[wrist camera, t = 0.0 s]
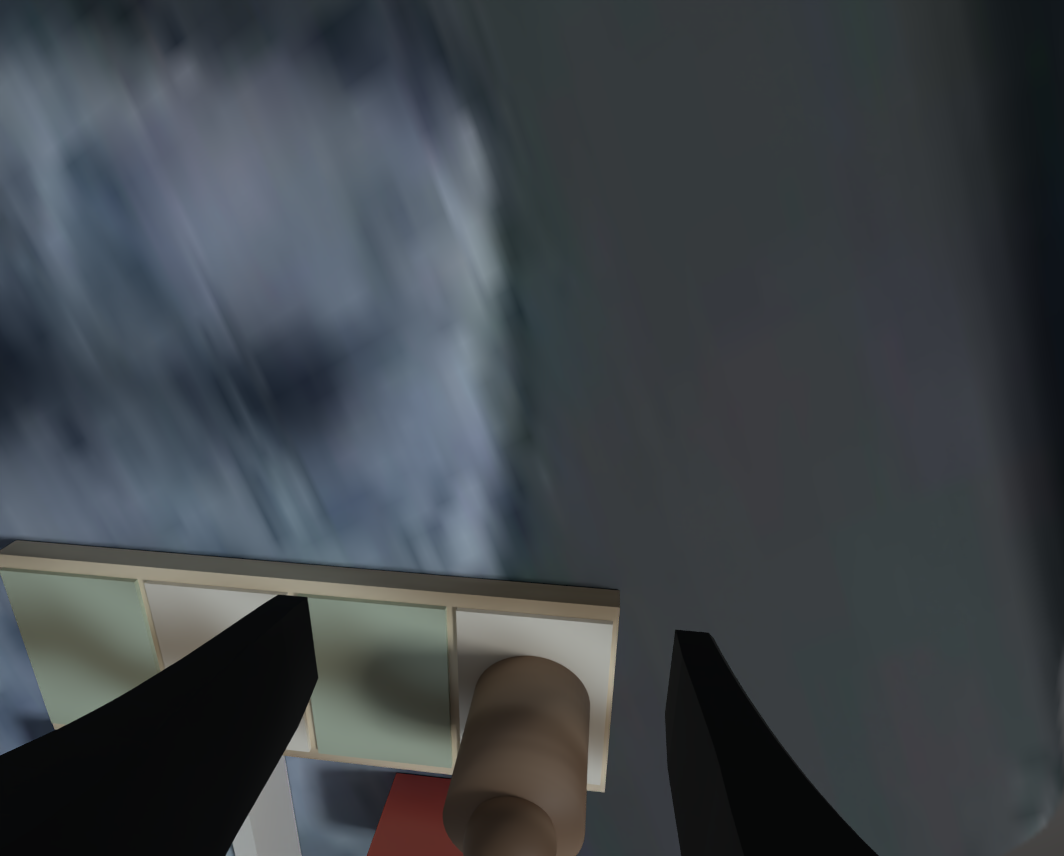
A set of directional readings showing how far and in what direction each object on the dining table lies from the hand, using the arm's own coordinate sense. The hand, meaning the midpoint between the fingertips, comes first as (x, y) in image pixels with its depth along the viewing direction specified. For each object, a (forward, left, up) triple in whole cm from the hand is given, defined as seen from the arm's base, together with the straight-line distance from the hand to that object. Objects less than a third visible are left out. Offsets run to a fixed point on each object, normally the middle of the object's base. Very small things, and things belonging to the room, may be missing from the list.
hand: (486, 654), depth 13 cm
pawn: (-10, 0, -9) cm, 13 cm away
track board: (-10, +9, -10) cm, 17 cm away
